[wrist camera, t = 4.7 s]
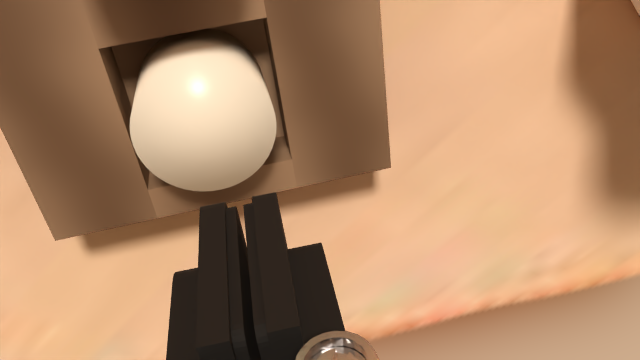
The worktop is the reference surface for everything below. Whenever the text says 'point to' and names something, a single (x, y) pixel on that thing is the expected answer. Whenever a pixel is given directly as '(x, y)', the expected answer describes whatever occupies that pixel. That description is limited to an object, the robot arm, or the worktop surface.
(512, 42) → the worktop surface
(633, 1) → the medicine bottle
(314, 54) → the button board
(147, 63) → the cream egg
